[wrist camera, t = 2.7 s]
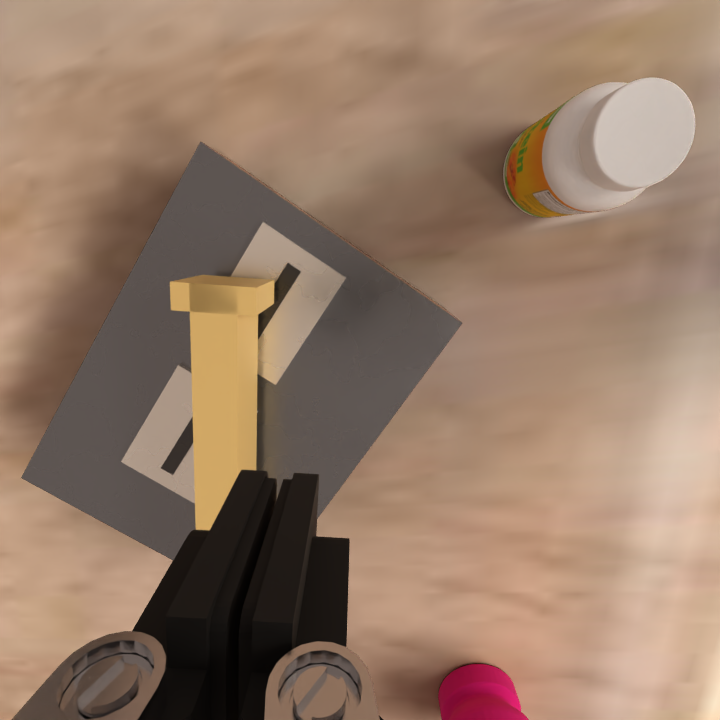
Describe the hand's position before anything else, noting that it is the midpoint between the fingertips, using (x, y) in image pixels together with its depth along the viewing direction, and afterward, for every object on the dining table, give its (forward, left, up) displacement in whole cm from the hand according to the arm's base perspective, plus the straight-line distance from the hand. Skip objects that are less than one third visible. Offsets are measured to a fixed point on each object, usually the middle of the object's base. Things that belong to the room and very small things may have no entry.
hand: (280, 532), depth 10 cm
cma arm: (+8, -1, -15) cm, 17 cm away
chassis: (+5, -3, -20) cm, 21 cm away
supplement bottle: (-16, +5, -21) cm, 26 cm away
